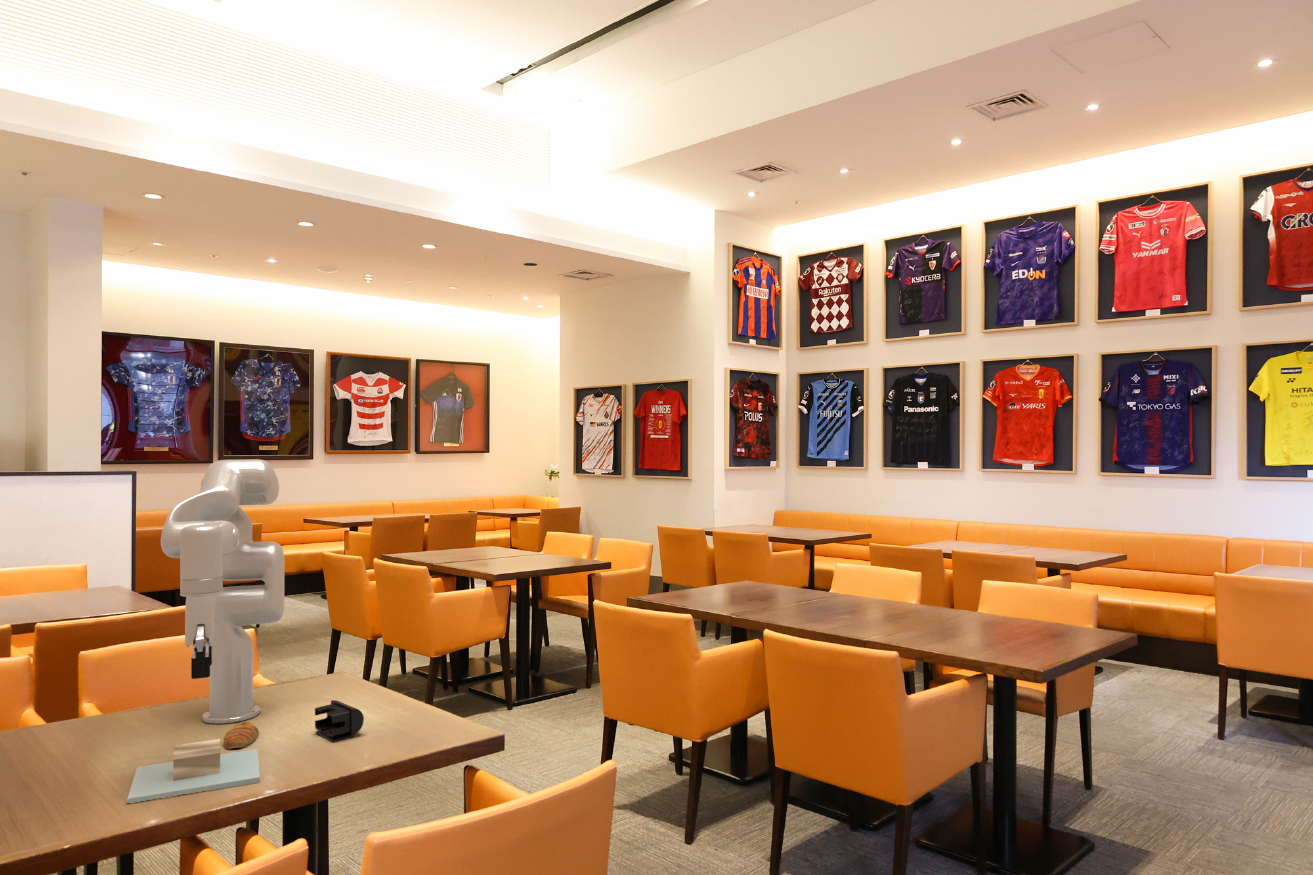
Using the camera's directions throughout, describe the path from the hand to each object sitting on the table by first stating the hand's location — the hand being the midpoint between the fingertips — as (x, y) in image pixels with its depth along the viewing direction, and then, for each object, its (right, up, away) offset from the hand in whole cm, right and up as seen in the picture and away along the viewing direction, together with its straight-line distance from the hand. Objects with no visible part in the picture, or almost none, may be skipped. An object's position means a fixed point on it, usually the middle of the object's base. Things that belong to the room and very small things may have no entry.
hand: (201, 671), depth 169 cm
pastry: (-1, -21, +19) cm, 29 cm away
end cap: (+19, -21, +24) cm, 37 cm away
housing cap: (0, -20, -1) cm, 20 cm away
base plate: (0, -21, -1) cm, 21 cm away
